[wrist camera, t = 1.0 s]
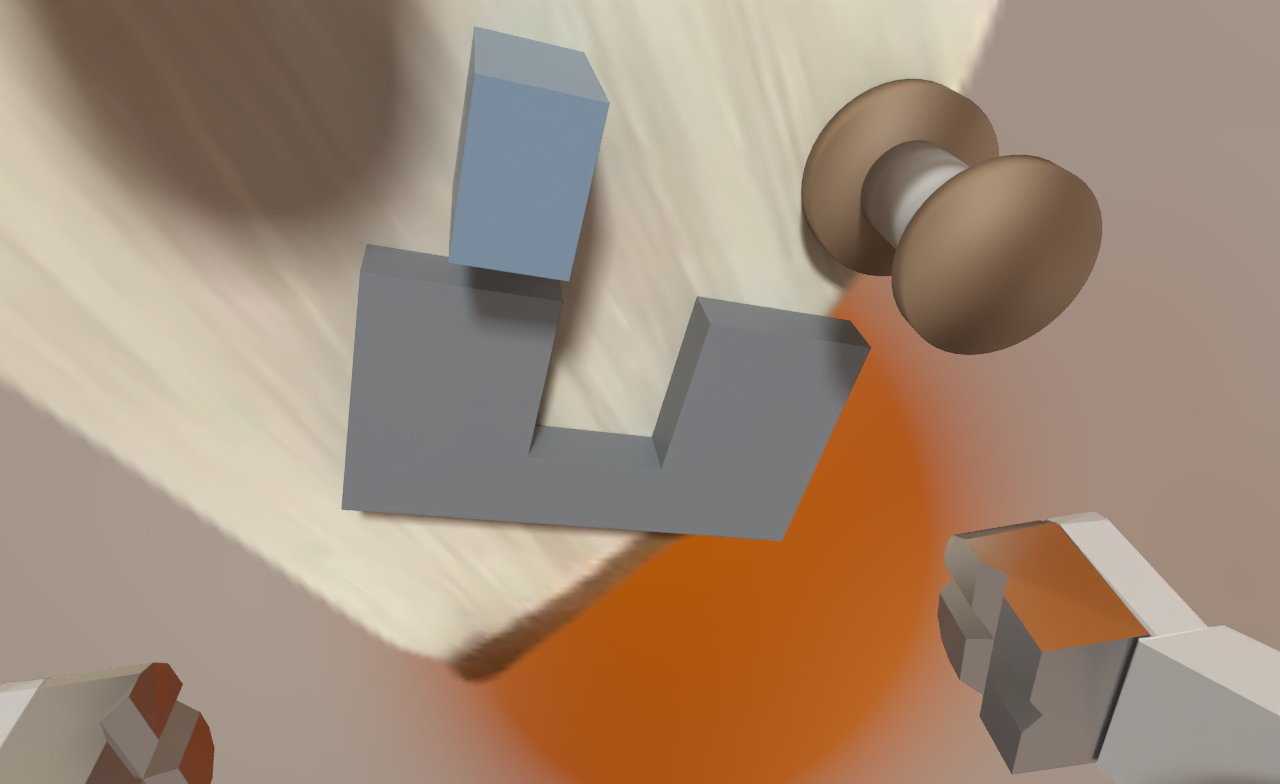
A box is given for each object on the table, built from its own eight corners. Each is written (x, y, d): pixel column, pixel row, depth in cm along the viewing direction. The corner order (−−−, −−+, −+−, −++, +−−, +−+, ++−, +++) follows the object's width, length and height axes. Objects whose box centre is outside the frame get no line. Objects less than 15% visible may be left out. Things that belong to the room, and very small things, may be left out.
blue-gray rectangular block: (452, 186, 32) (448, 262, 26) (474, 26, 29) (474, 73, 23) (552, 204, 33) (569, 281, 27) (583, 52, 30) (609, 103, 24)
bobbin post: (775, 246, 36) (853, 351, 28) (844, 58, 32) (955, 125, 24) (931, 274, 38) (1040, 378, 31) (1013, 102, 34) (1162, 175, 27)
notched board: (348, 474, 39) (341, 509, 37) (367, 244, 33) (360, 271, 31) (767, 509, 45) (781, 540, 43) (850, 320, 39) (870, 347, 37)
